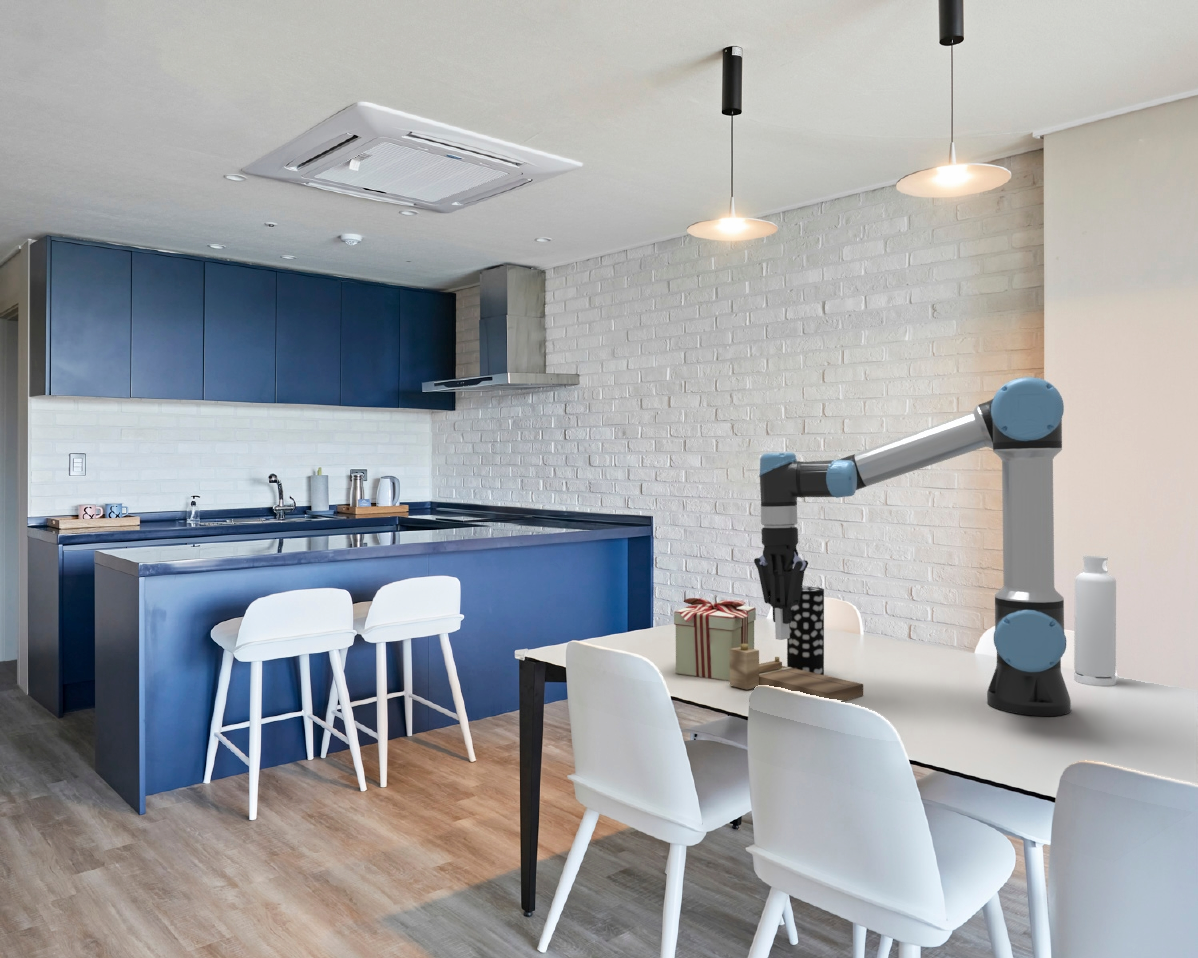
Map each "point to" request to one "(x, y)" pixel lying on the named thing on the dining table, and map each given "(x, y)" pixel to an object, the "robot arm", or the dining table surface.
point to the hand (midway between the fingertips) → (782, 638)
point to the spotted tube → (807, 632)
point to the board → (811, 683)
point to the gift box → (711, 636)
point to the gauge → (748, 667)
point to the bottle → (1095, 624)
